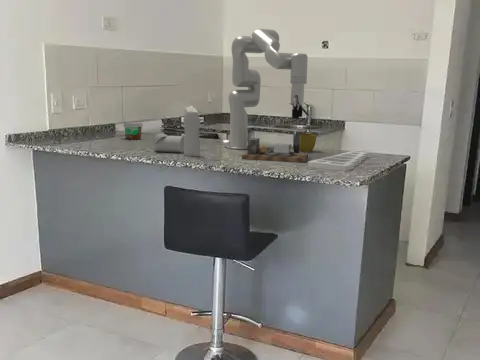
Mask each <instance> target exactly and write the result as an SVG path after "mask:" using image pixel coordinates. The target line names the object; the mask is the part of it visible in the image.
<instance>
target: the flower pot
mask: <svg viewBox="0 0 480 360" xmlns="http://www.w3.org/2000/svg"><path fill="white" fill-rule="evenodd" d="M317 136H318V135H317V134H312V133H300V145H299V152H302V153H306V152H307V153H308V152H309V153H311V152H313V151H314V149H315V146H316V143H317V142H316V141H317Z"/></svg>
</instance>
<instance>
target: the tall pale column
mask: <svg viewBox="0 0 480 360" xmlns="http://www.w3.org/2000/svg"><path fill="white" fill-rule="evenodd" d="M183 127H184V138H185V139H184V152H183V155H184V156H188V157H196V158H199V157H201V156H200V155H201V147H200V146H201V142H200V127H201V118H200V117H199V112H197V111H194V110H189V111H185V115H184V117H183Z"/></svg>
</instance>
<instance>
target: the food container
mask: <svg viewBox="0 0 480 360" xmlns="http://www.w3.org/2000/svg"><path fill="white" fill-rule="evenodd" d="M122 127H123V128H124V134H125V136H124V137H125V140H127V141H128V140H129V141H138V140H142V129H143V128H142V127H143V123H141V122H140V123H139V122H138V123H132V122H131V123H127V122H123V125H122Z"/></svg>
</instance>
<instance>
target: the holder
mask: <svg viewBox="0 0 480 360" xmlns="http://www.w3.org/2000/svg"><path fill="white" fill-rule="evenodd" d="M368 155H369V152H365V151H364V152H363V151H361V152H360V151H354V150H353V151H347V152H346V151H345V152H343V153H338V154H334V155H331V156H325V157H321V158H317V159H313V160H310V161H309V160H308V162H307V164H308V165H307V167H310V168H316V169H327V170H333V171H341V172H346V171H350V170H353V169H354V167H357V166H358V164H360V163H362V161H365V159H366V158H368V157H369V156H368Z"/></svg>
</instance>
